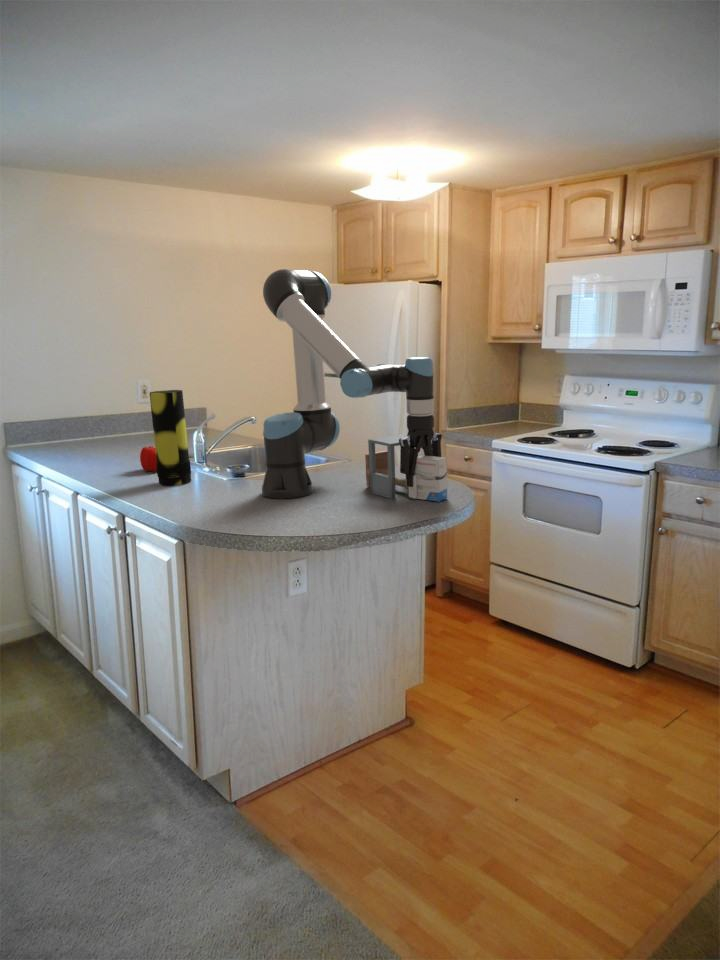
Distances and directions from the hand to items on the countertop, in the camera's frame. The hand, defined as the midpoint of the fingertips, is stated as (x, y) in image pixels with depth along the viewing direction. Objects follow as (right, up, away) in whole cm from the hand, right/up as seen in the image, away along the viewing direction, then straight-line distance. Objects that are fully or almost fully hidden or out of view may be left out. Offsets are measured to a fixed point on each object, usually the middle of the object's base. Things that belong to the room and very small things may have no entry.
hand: (421, 495), depth 199 cm
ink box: (+2, -1, -2) cm, 3 cm away
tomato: (-91, +8, +54) cm, 106 cm away
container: (-78, +3, +33) cm, 85 cm away
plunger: (-6, +1, +9) cm, 11 cm away
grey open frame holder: (-5, +1, +8) cm, 10 cm away
